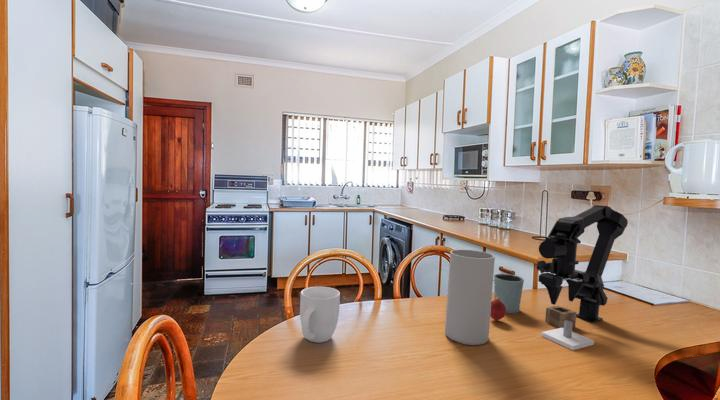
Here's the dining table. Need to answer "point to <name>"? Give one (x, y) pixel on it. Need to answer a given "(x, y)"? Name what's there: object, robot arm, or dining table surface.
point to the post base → (567, 337)
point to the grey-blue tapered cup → (508, 291)
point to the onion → (497, 309)
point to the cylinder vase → (469, 296)
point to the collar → (559, 316)
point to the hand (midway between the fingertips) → (562, 302)
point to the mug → (319, 313)
